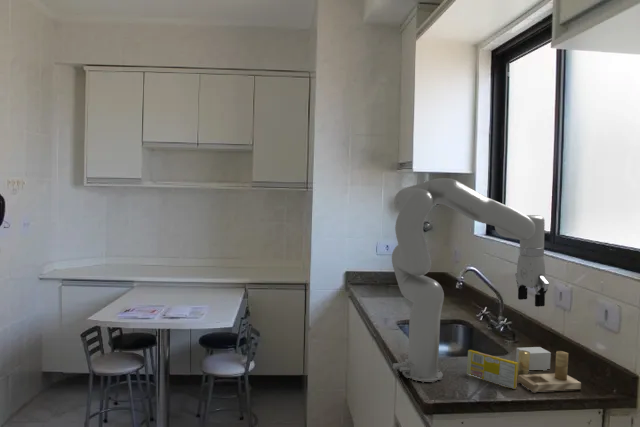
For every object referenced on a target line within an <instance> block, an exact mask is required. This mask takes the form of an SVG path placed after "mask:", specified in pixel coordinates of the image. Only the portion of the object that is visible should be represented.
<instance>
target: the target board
mask: <svg viewBox="0 0 640 427" xmlns="http://www.w3.org/2000/svg"><path fill="white" fill-rule="evenodd" d="M568 365H569V352H566V351H563V350H556V352H555V367H554V373H536V374H535V373H534V374H532V373H531V374H530V373H529V375H518V376H517V383H518V382H519V383H521V384H523V385H524V386H526V387H527V388H529V389H531V390H532V391H544V390H563V389H564V390H565V389H581V390H582V382H581V381H578V380H577V379H576V378H574V377H572V376H570V375H568V369H569V368H568ZM519 383H518V384H519Z"/></svg>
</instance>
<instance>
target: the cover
mask: <svg viewBox="0 0 640 427" xmlns="http://www.w3.org/2000/svg"><path fill="white" fill-rule="evenodd" d="M520 350H524V351H528V352H530V363H529V370H543V371H548V370H547V369H550V370H551V360H552V359H551V358H552V355H551V354H552V352H550V351H549V350H547V349H545V348H542V347H541V346H533V347H532V346H531V347H528V346H527V347H516V350H515V362H518V357H519V351H520Z"/></svg>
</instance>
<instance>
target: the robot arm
mask: <svg viewBox="0 0 640 427" xmlns="http://www.w3.org/2000/svg"><path fill="white" fill-rule="evenodd" d="M435 205H444V206H446V207H448V208H450V209H452V210H454V211H456V212H458V213H460V214H461V215H463V216H465V217H466V218H468V219H471V220H473V221H475V222H477V223H481V224H485V225H490V226H493V227H494V229H495V232H496V233H497V234H498V235H499V236H500V237H503V238H506V239H507V238H509V239H514V240H519V255H518V259H517V264H516V265H517V266H516V273H515V281H516V284H517V285H516V287H517V299H518V300H520V301H521V300H528V288H530V289H531V288H533V289H534V291H535V294H534V306H535V307H538V308H539V307H545V305H546V303H545V302H546V295H547V292H548V291H549V290H548V288H549V286H550V283H549V282H548V280H547V279H546V265H545V264H546V262H545V258H544V257H545V228H546V227H545V225H546V224H545V223H546V222H545V218H544V217H543V216H542V215H538V214H537V215H535V214H524V213H523V212H521V211H519V210H517V209H515V208H513V207H511V206H510V205H509V206H508V205H506V204H503V203H501V202H499V201H497V200H495V199H492V198H490V197H488V196H486V195H483V194H481V193H480V192H478V191H476V190H474V189H472V188H471V187H469V186H467V185H466V184H465V183H463V182H460V181H459V180H456V179H454V178H449V177H448V178H445V177H444V178H433V179H430V180H426V181H424V182H421V183H417V184H415V185H411V186H407V187H404V188H402V189H401V190H399V191H398V192H397V193H396V195H395V196H394V207H395V208H396V210H397V211H398V212H399V213H398V215H397V218H396V220H395V226H394V228H395V229H394V230H395V235H396V241H397V245H396V246H395V247H394V249H393V251H392V253H391V264H392V268H393V270H394V275H395V278H396V281H397V286H398V287H399V292H400V293H401V295H402V296H403V297H404V298H405V299H406V300H408V301H409V302H411V303H412V308H411V310H410V315H409V323H408V325H409V326H408V328H409V329H408V348H407V349H408V351H407V353H408V354H407V358H405V359H404V361H403V362H401V363H398V362H397V363H395V362H394V363H393V364H392V368H393V370H399V371H400V372H402V375H403V376H404V377H405V378H406V379H408V378H413V379H417V380H424V381H434V380H439V379H441V378H442V377H444V376H443V372H442V371H441V370H440V369H439V354H440V351H439V350H440V334H441V332H440V331H441V314H442V308H443V304H444V299H445V293H444V292H445V291H444V290H443V287H442V285H441V284H440V283H439V282H438V281H437V280H435V279H433V278H431V277H429V276H427V275H428V273H429V271H430V270H431V268H432V258H431V255H430V254H431V253H430V251H429V247H428V244H427V241H426V237H425V232H424V223H425V220H426V219H427V216H428V215H429V213H430V212H431V210H432V209H433V206H435ZM426 274H427V275H426ZM442 379H443V378H442ZM442 379H441V380H442Z"/></svg>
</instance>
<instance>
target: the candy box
mask: <svg viewBox="0 0 640 427" xmlns="http://www.w3.org/2000/svg"><path fill="white" fill-rule="evenodd" d="M466 362H467V364H466V365H467V366H466V374H467V373H468V374H471V375H474V376H477V377H480V378H482V379H486V380H489V381H492V382H495V383H499V384H502V385H505V386H508V387H511V388H516V387H517V388H518V362H516V361H514V360H510V359H506V358H502V357H499V356H496V355H495V356H494V355H491V354H487V353H483V352H480V351H477V350H473V349H468V350H467V361H466Z"/></svg>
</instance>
